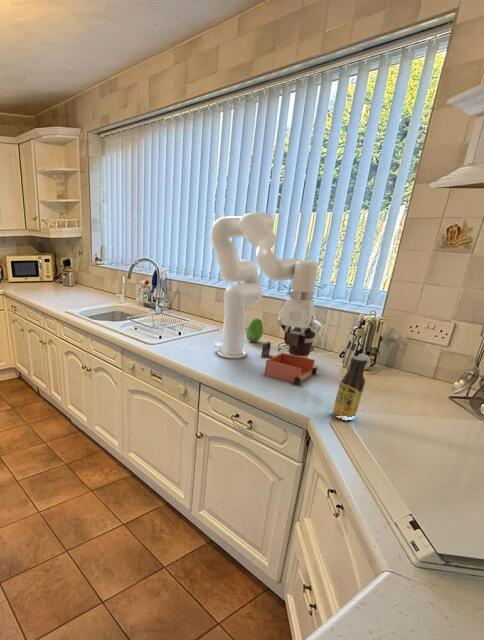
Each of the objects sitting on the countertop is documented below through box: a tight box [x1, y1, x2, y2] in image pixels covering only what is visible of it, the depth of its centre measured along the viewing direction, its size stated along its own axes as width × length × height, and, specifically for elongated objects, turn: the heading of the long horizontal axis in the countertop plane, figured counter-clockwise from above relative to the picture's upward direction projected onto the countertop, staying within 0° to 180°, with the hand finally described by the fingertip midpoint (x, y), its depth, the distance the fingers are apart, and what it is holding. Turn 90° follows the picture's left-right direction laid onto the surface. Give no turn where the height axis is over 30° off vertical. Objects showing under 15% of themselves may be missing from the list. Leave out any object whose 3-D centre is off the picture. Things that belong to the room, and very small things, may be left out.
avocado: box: [245, 318, 264, 343], centre depth 197 cm, size 8×8×12 cm
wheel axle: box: [293, 367, 318, 387], centre depth 151 cm, size 2×16×3 cm, turn 134°
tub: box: [260, 341, 316, 384], centre depth 155 cm, size 18×13×11 cm
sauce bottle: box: [332, 355, 368, 422], centre depth 118 cm, size 6×6×20 cm
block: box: [285, 331, 301, 346], centre depth 150 cm, size 4×4×4 cm
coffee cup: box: [288, 327, 316, 359], centre depth 167 cm, size 10×10×15 cm
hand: (293, 343), depth 151 cm, fingers closed on block, 4 cm apart
